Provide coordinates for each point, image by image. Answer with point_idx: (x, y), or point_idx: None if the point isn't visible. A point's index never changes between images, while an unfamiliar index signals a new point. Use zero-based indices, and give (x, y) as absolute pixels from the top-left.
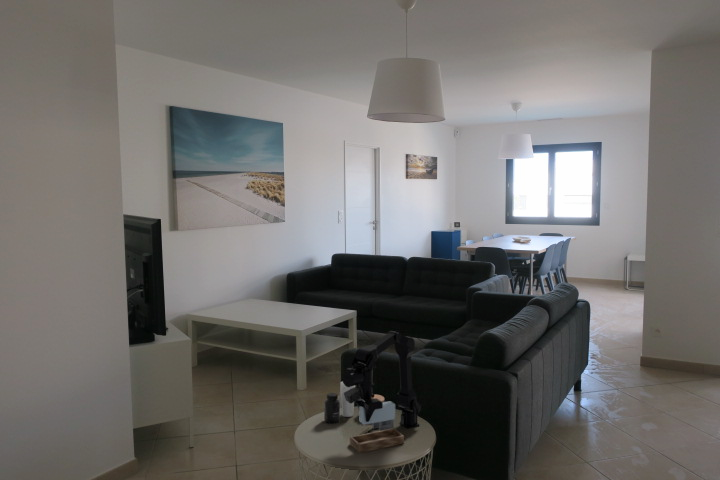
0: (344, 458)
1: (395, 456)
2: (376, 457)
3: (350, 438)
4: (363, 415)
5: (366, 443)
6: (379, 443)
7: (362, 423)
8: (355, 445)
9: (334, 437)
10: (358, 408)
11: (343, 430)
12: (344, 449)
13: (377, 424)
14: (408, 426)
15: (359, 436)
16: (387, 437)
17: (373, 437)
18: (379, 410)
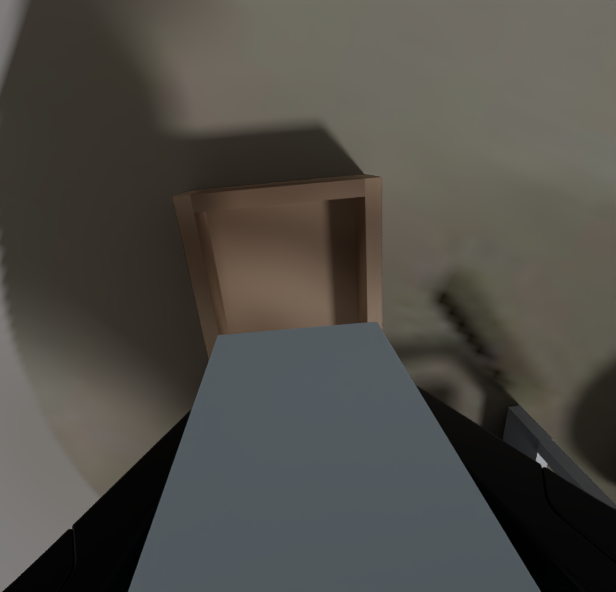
0: (111, 8)
1: (83, 400)
2: (87, 285)
3: (368, 177)
4: (186, 451)
5: (194, 272)
6: None
7: (254, 334)
8: (260, 185)
9: (546, 91)
10: (562, 480)
11: (610, 217)
12: (292, 87)
13: (519, 448)
14: None
15: (365, 268)
16: None
17: None
18: None
